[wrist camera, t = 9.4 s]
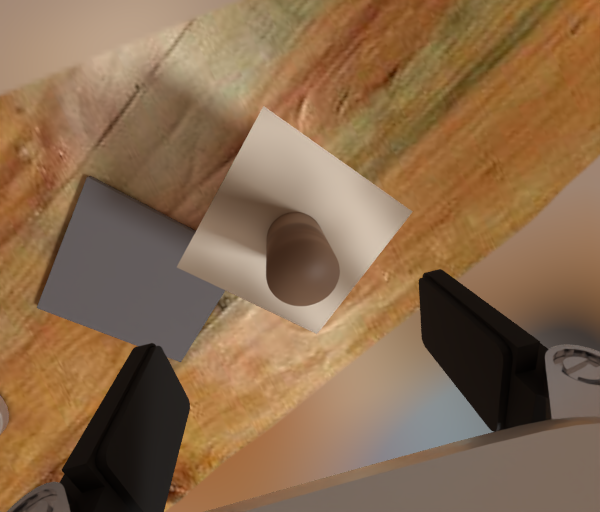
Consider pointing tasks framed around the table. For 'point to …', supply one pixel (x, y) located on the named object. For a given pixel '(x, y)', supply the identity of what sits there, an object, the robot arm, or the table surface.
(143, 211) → the mat
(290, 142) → the lid
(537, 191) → the table surface
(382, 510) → the robot arm
